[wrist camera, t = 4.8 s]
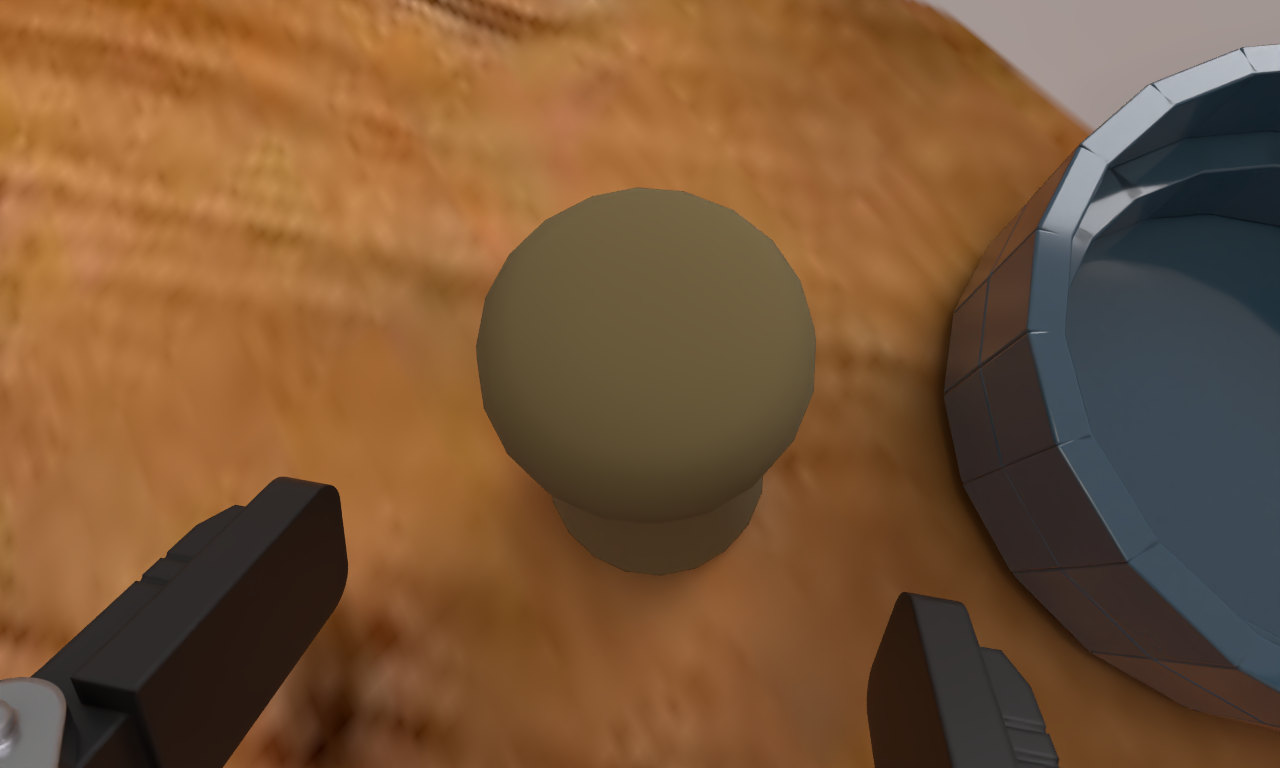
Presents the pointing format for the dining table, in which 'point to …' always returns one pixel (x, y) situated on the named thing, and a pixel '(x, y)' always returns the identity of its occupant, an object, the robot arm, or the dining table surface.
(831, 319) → the dining table surface
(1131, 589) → the glazed bowl
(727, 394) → the olive peg figure
